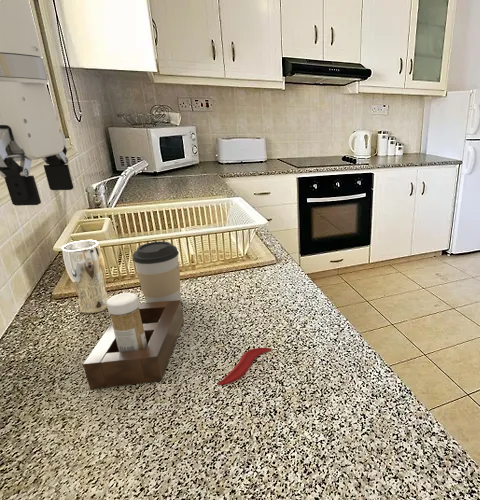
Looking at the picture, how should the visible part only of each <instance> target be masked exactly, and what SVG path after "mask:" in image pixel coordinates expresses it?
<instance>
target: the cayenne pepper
mask: <svg viewBox="0 0 480 500" xmlns="http://www.w3.org/2000/svg"><path fill="white" fill-rule="evenodd" d="M271 351H272V349H271V348H269V347H255V348H251V349H249V350H247V351H245V352H244V353H243V354H242V356H241V357H240V359H239V361H238V362H237V364H236V365H235V366H234V367H233V368H232V370H230V371H229V372H228V374H227V375H226V376H224V377H223V379H221V380H220V381H219V382H218V383H217V386H218V385H219V386H224V385H229V384H232V383H234V382H236V381H238V380H239V379H241V378H243V376H244V375H245V374H246V373H247V372H248V371H249V370H250V367H251V366H252V364H253V362H254V361H255V360H256V358H257V359H258V357H259V356H261V355H263V354H266V353H268V352H271Z"/></svg>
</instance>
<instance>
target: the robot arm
mask: <svg viewBox="0 0 480 500" xmlns="http://www.w3.org/2000/svg"><path fill="white" fill-rule="evenodd" d="M46 69H47V68H46V64H45V59H44V58H43V52H42V48H41V44H40V40H39V36H38V33H37V29H36V25H35V20H34V16H33V13H32V8H31V4H30V0H0V176H1V177H2V178H4V181H5V184H6V187H7V191H8V194H9V197H10V201H11V204H12V205H13V206H15V207H16V206H17V207H19V206H38V205H40V204H41V203H42V201H41V196H40V193H39V190H38V189H39V188H38V186H37V183H36V179H35V176H34V175H30V173H31V166H32V160H33V161H34V160H39V159H42V160H43V162H44V163H45V164H43V168H44V169H43V170H44V173H45V177H46V180H47V184H48V187H49V190H50V191H71V190H73V189H74V183H73V179H72V175H71V172H70V167H69V158H68V156H67V152H68V148H67V147H66V135H65V133H63V132H62V130H61V126H60V122H59V119H58V116H57V111H56V110H55V106H54V103H53V100H52V98H51V95H50V92H49V89H48V87H47V85H50V81H49V77H48V73H47V70H46ZM17 162H19V163H17Z"/></svg>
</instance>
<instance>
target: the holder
mask: <svg viewBox="0 0 480 500" xmlns="http://www.w3.org/2000/svg"><path fill="white" fill-rule="evenodd" d="M139 311H140V316H141V321H142V324H143V328H144V332H145V337H146V341H147V347H146V349H144V350H134V351H124V352H119V350H118V346H117V342H116V338H115V333H114V329H113V323H112V322H111V323H110V324H109V325H108V327H107V329H106V330H105V332H104V333H103V335H102V336H101V337H100V339H99V340H98V341H97V343H96V345H95V346H94V348H93V349H92V350H91V351H90V353H89V354H88V356H87V358H86V359H85V361H84V362H83V364H82V366H83V370H84V373H85V376H86V380H87V383H88V388H89V390H95V389H105V388H112V387H114V388H115V387H121V386H131V385H139V384H146V383H147V384H148V383H155V382H162V381H163V380H164V376H165V373H166V371H167V368H168V365H169V362H170V360H171V358H172V357H171V356H172V355H173V351H174V350H175V346H176V343H177V342H178V338H179V335H180V332H181V330H182V328H183V324H184V321H185V318H184V311H183V305H182V299H181V300H176V301H162V302H149V303H147V302H139Z"/></svg>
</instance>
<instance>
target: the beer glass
mask: <svg viewBox="0 0 480 500" xmlns="http://www.w3.org/2000/svg"><path fill="white" fill-rule="evenodd" d="M61 251H62V258H63V263H64V268H65V270H66V274H67V276H68V277H69V280H70V281H71V284H72V285H73V288H74V289H75V291H76V293H77V296H78V299H79V300H78V301H79V311H80V313H83V314H86V315H87V314H90V315H91V314H97V313H100V312H103V311H106V310H108V308H107V300H108V299H109V298H110V296H109V293H108V290H107V282H106V281H107V280H106V279H107V277H106V275H107V274H106V263H105V259H104V255H103V252H102V249H101V246H100V243H99V241H97V240H93V239H86V240H84V239H83V240H77V241H73V242H69V243H67V244H64V245H63V246H62V247H61Z"/></svg>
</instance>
